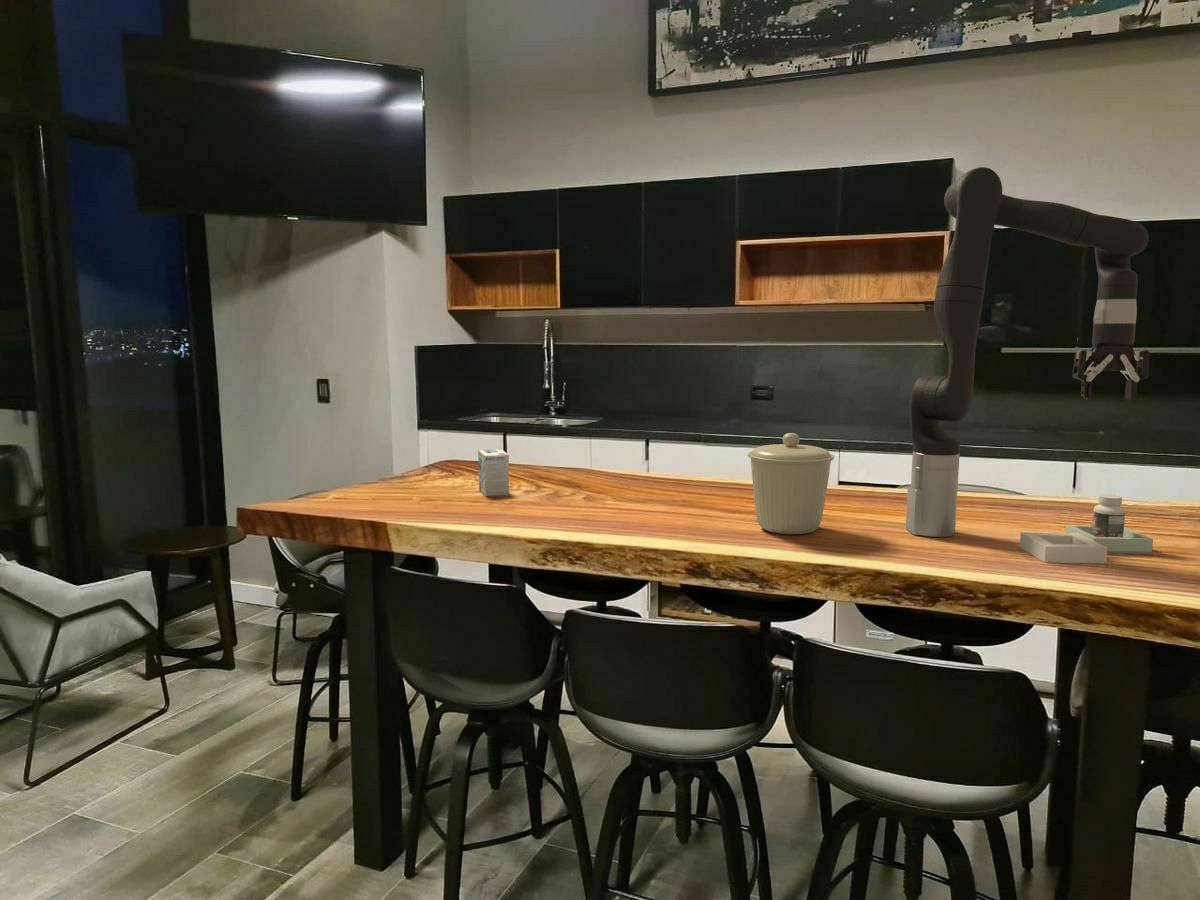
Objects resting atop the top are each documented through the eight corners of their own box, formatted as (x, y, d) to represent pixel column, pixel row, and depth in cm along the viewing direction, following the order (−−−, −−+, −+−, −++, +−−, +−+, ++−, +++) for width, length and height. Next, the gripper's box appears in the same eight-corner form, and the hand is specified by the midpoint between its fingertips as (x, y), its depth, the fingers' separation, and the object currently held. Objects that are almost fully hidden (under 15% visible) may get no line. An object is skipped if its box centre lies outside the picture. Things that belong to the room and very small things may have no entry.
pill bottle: (1084, 541, 171) (1088, 493, 169) (1110, 540, 171) (1114, 492, 170) (1102, 547, 166) (1106, 498, 164) (1128, 547, 166) (1133, 498, 165)
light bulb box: (478, 489, 231) (477, 449, 229) (502, 487, 233) (501, 448, 231) (484, 496, 221) (484, 455, 219) (510, 494, 223) (509, 454, 221)
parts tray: (1092, 553, 163) (1093, 538, 163) (1065, 539, 174) (1066, 525, 174) (1151, 554, 163) (1153, 539, 162) (1120, 540, 174) (1122, 525, 173)
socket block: (1044, 562, 157) (1045, 546, 157) (1019, 547, 168) (1020, 532, 168) (1106, 563, 157) (1107, 547, 156) (1076, 548, 167) (1078, 533, 167)
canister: (730, 524, 189) (732, 430, 186) (800, 517, 195) (803, 426, 192) (775, 543, 172) (777, 440, 169) (849, 535, 178) (853, 436, 175)
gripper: (1088, 321, 172) (1081, 401, 175) (1160, 321, 171) (1153, 401, 174) (1070, 322, 180) (1064, 398, 182) (1140, 321, 179) (1133, 398, 181)
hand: (1108, 399), depth 178 cm, fingers open, 8 cm apart
